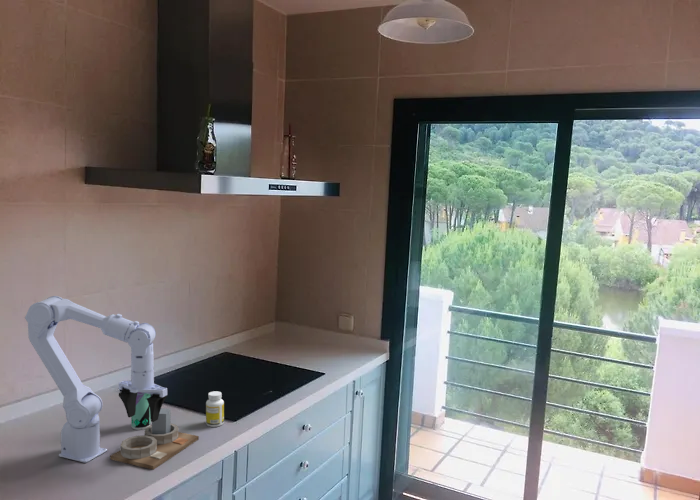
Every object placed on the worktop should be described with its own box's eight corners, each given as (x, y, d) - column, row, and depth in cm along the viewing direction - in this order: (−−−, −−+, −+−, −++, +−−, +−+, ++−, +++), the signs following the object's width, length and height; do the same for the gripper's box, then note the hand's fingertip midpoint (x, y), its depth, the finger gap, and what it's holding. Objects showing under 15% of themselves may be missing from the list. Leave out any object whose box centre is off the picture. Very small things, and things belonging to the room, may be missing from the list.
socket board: (110, 459, 156) (110, 446, 156) (158, 431, 175) (158, 419, 174) (153, 469, 151) (153, 456, 151) (198, 439, 170) (198, 427, 170)
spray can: (130, 424, 179) (130, 360, 177) (149, 421, 181) (149, 359, 179) (131, 431, 174) (131, 366, 172) (151, 428, 176) (151, 364, 174)
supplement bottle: (216, 418, 185) (216, 389, 184) (227, 423, 182) (227, 393, 181) (202, 423, 181) (202, 393, 180) (213, 428, 178) (213, 397, 177)
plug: (152, 440, 166) (151, 413, 165) (156, 434, 170) (156, 408, 169) (165, 441, 166) (166, 414, 165) (170, 435, 170) (170, 408, 169)
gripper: (110, 370, 155) (110, 419, 157) (155, 377, 150) (155, 428, 152) (128, 362, 162) (129, 410, 163) (172, 369, 157) (172, 418, 158)
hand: (142, 418), depth 158 cm, fingers open, 7 cm apart
